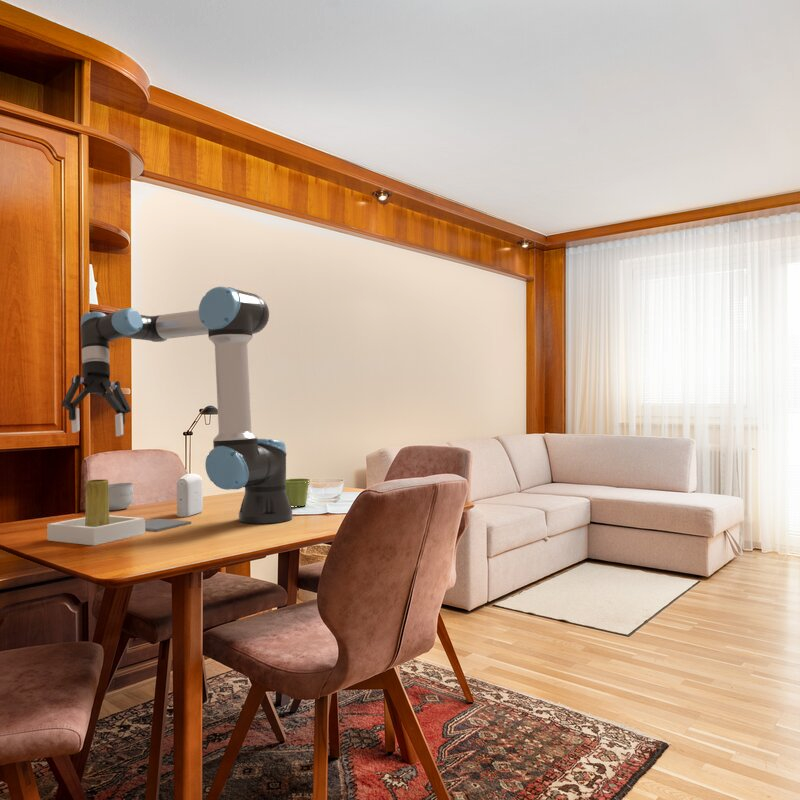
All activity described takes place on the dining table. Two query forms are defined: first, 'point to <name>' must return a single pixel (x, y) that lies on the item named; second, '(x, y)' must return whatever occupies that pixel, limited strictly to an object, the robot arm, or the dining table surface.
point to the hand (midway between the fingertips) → (98, 433)
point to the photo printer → (189, 495)
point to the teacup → (120, 495)
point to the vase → (97, 503)
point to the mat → (163, 524)
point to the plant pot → (297, 491)
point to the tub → (95, 530)
